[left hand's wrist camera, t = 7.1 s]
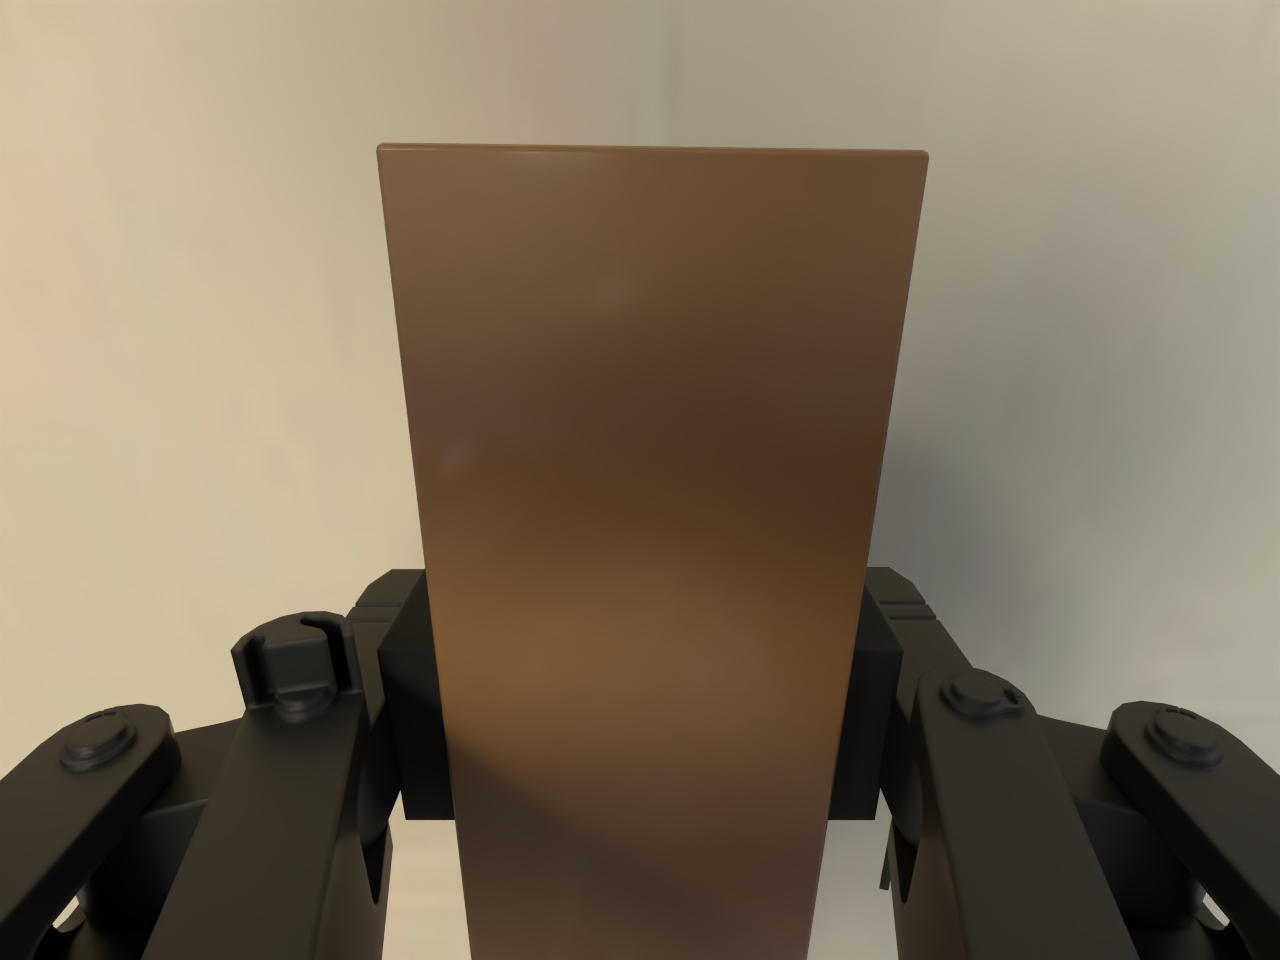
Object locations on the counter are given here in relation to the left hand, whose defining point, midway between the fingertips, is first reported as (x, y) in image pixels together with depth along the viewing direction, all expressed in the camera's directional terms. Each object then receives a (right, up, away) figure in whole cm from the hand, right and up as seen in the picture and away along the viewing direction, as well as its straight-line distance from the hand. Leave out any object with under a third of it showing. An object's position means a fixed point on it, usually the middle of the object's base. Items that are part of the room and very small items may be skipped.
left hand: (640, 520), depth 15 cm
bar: (0, -18, +8) cm, 19 cm away
